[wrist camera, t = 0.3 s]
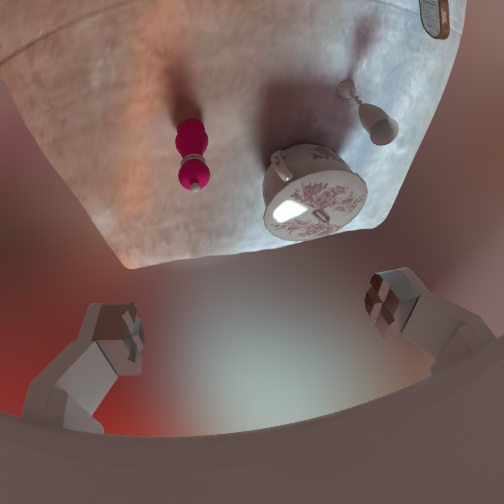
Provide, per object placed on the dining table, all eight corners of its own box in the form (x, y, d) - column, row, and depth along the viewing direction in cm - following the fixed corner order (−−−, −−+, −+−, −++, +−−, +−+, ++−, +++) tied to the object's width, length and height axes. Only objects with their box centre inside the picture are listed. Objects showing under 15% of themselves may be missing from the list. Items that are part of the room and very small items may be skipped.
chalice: (362, 92, 55) (402, 134, 46) (342, 106, 58) (377, 150, 50) (349, 72, 50) (392, 111, 41) (327, 87, 53) (364, 129, 44)
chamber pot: (330, 193, 88) (353, 246, 78) (248, 202, 85) (263, 260, 74) (353, 125, 64) (392, 178, 54) (252, 126, 61) (273, 186, 50)
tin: (429, 32, 38) (451, 45, 34) (420, 32, 39) (442, 45, 34) (423, -20, 25) (448, -11, 21) (413, -20, 26) (438, -12, 22)
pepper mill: (182, 114, 54) (183, 172, 44) (211, 122, 58) (222, 181, 48) (171, 138, 59) (170, 200, 49) (199, 146, 63) (205, 207, 53)
